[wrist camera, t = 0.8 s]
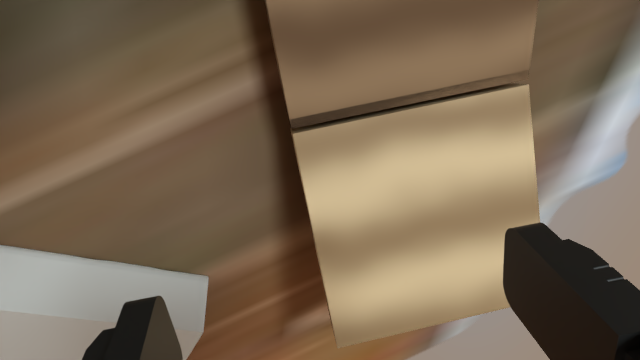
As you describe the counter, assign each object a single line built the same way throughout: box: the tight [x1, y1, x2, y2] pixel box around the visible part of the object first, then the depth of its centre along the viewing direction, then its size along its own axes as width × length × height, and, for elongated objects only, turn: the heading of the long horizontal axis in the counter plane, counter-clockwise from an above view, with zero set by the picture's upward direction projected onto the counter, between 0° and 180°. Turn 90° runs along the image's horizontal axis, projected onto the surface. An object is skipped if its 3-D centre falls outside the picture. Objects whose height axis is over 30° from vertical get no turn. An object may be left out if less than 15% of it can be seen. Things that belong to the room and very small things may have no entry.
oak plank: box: [290, 83, 540, 348], centre depth 31 cm, size 14×14×3 cm
